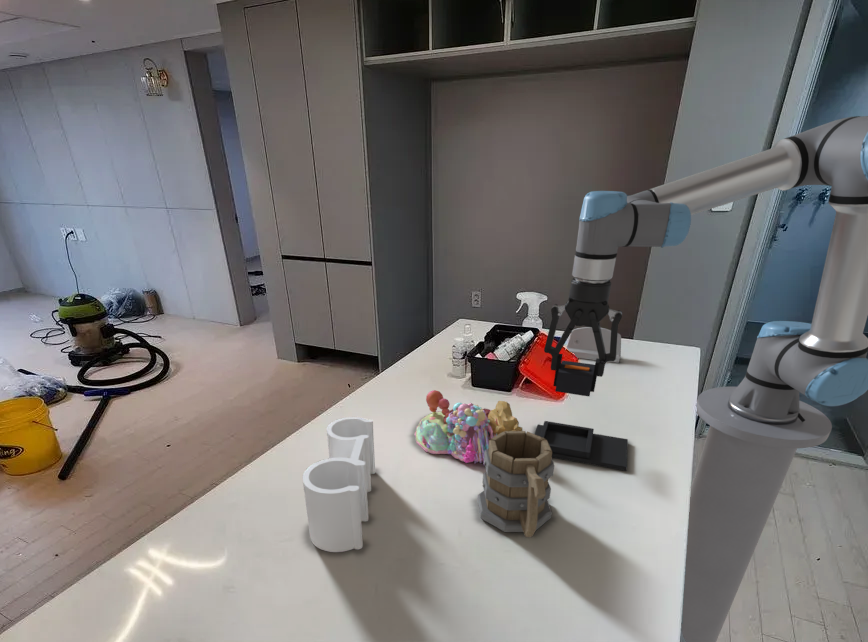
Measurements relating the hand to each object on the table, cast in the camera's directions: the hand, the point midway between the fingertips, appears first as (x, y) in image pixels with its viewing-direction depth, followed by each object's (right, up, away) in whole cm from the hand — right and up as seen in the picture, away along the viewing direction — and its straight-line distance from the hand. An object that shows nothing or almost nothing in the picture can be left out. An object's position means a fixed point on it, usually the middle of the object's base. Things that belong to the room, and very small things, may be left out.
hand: (574, 386), depth 110 cm
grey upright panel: (+22, +13, +52) cm, 58 cm away
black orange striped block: (0, 0, 0) cm, 0 cm away
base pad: (+2, -13, +3) cm, 14 cm away
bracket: (-47, -23, -14) cm, 55 cm away
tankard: (-16, -26, -19) cm, 36 cm away
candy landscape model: (-22, -11, +7) cm, 26 cm away
